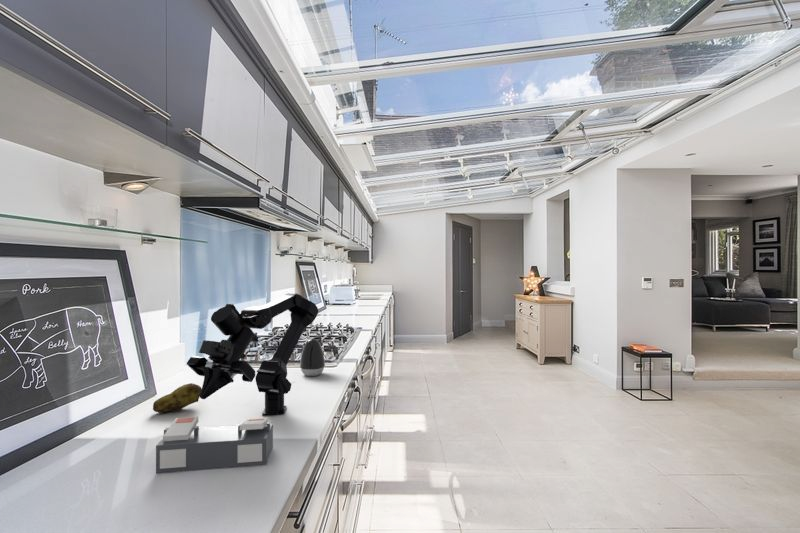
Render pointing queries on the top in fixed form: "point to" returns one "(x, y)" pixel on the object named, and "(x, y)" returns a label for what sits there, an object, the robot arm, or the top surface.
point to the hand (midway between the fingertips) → (201, 398)
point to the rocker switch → (253, 424)
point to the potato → (178, 398)
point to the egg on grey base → (312, 358)
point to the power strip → (215, 449)
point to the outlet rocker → (180, 429)
